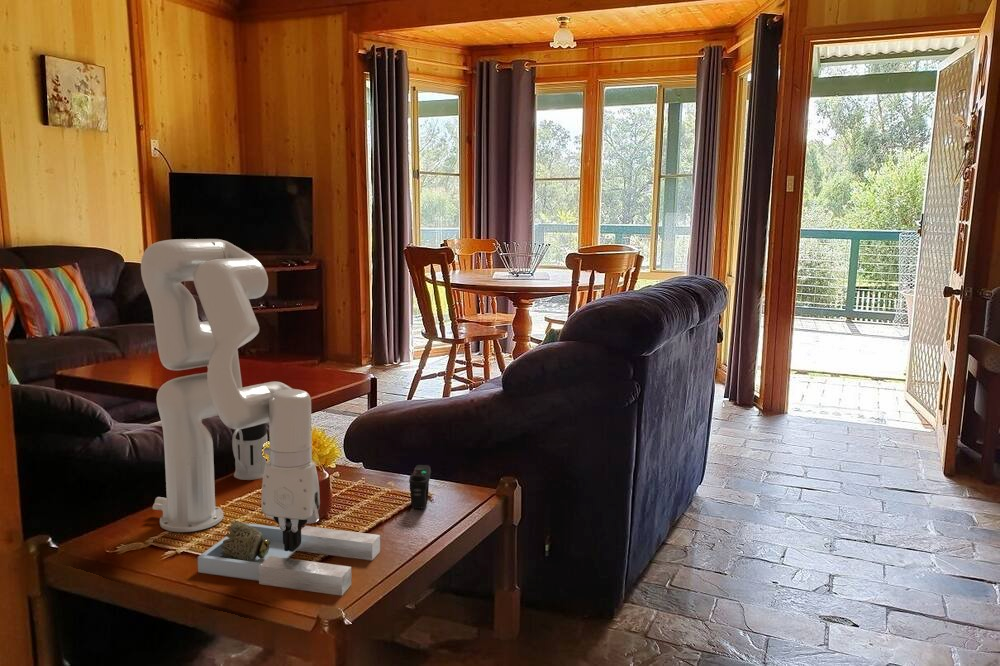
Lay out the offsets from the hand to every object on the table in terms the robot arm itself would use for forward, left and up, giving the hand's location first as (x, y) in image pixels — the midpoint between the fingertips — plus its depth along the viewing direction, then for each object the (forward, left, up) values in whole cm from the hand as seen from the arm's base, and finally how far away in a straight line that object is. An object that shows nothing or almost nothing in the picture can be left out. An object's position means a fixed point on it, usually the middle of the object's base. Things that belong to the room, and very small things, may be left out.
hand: (292, 548), depth 144 cm
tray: (-8, 0, -3) cm, 9 cm away
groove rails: (+6, 0, -3) cm, 7 cm away
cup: (-5, 0, -1) cm, 5 cm away
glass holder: (-33, +39, -3) cm, 51 cm away
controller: (+14, +34, -3) cm, 37 cm away
